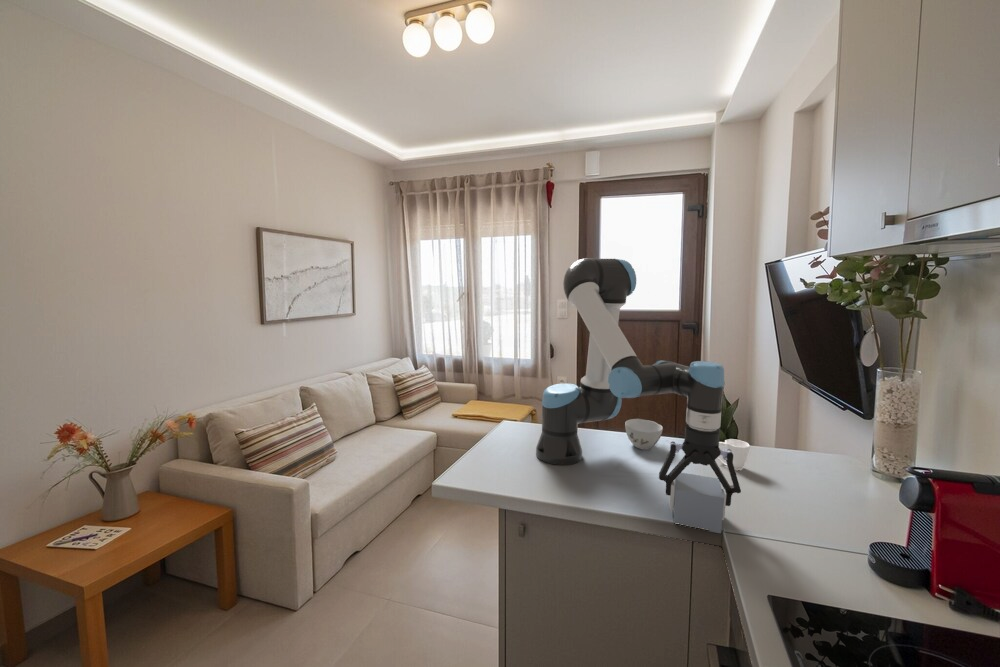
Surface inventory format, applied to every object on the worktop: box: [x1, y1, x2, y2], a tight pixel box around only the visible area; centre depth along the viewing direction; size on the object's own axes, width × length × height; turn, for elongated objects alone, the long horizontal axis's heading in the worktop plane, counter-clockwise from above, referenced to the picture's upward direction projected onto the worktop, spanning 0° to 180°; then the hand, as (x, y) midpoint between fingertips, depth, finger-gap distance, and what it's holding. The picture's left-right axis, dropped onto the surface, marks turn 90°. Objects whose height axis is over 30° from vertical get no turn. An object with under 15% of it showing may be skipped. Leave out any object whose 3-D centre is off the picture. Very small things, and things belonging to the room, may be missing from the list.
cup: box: [716, 438, 751, 471], centre depth 133 cm, size 7×10×8 cm
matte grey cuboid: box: [672, 472, 724, 534], centre depth 104 cm, size 10×10×9 cm
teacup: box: [624, 418, 663, 450], centre depth 149 cm, size 15×12×8 cm
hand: (695, 511), depth 105 cm, fingers open, 11 cm apart
